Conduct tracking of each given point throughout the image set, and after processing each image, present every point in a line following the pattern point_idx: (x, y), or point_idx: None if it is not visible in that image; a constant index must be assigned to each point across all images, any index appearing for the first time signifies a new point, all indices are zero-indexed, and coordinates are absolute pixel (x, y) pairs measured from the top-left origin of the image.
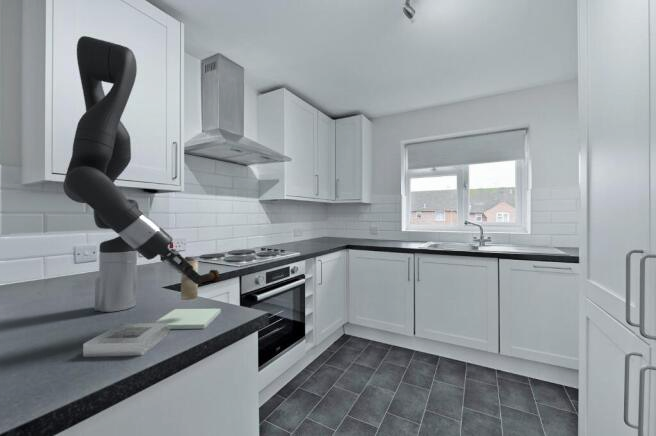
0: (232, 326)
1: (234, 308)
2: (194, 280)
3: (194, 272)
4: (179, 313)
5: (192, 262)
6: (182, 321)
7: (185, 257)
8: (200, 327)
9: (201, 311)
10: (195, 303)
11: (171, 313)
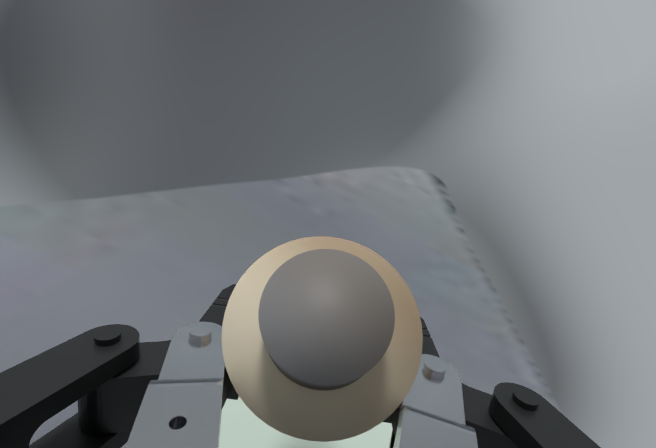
0: (487, 302)
1: (300, 196)
2: None
3: (437, 356)
4: (226, 405)
5: (419, 336)
6: (356, 445)
7: (329, 383)
8: None
9: None
10: (90, 259)
11: None
